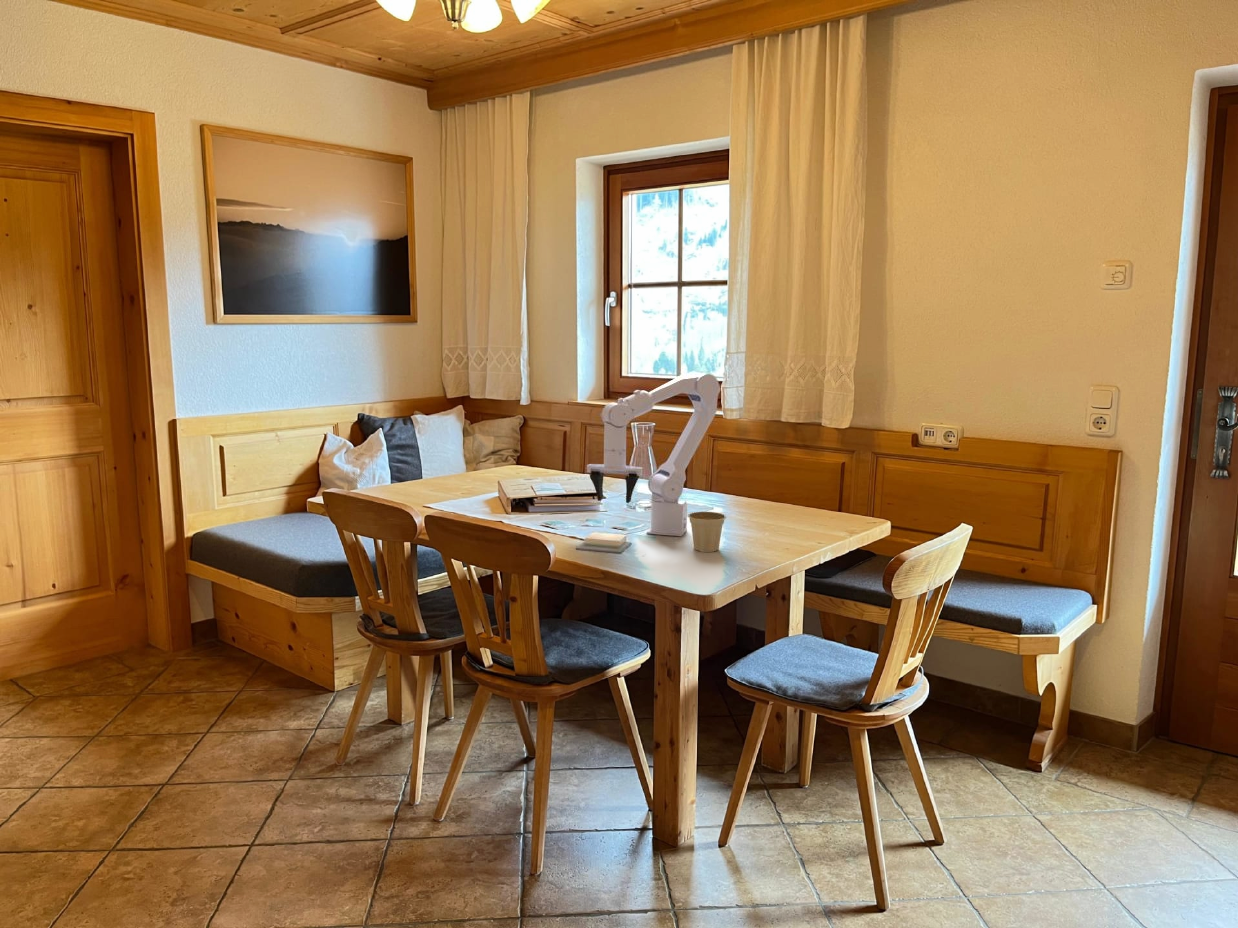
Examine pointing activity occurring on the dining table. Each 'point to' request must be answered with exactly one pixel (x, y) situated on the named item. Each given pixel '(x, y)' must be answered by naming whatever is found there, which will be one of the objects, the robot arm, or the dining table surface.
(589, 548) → the mat
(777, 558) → the dining table surface
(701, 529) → the flower pot
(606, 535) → the tile
